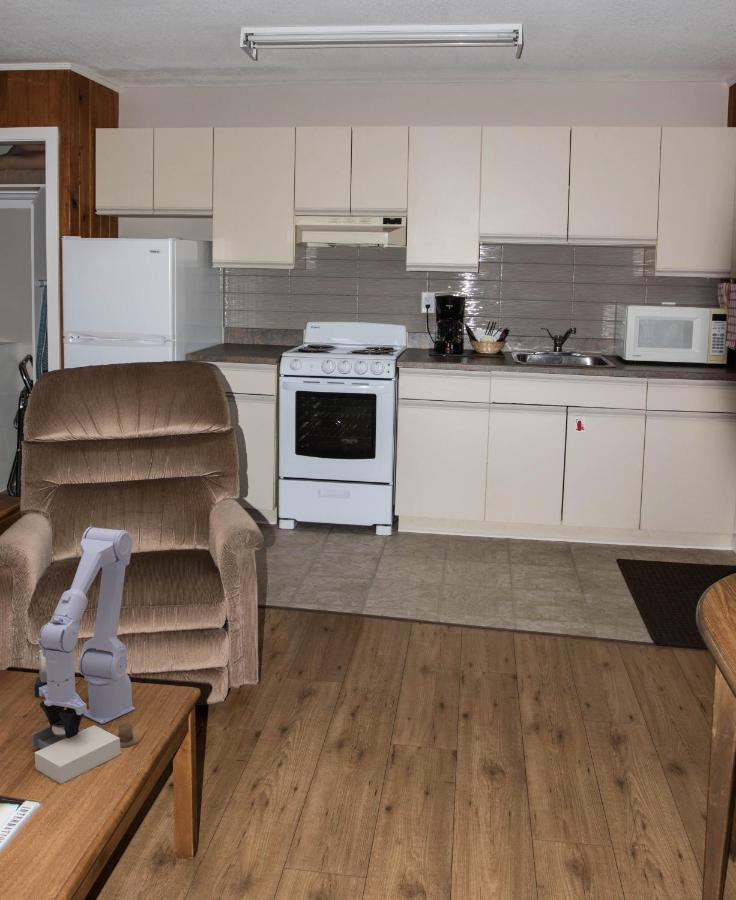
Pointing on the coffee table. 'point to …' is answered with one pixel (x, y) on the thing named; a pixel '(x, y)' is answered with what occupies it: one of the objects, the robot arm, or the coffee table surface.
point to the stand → (127, 736)
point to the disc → (58, 729)
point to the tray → (45, 738)
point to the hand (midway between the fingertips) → (64, 734)
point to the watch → (41, 673)
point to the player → (77, 754)
